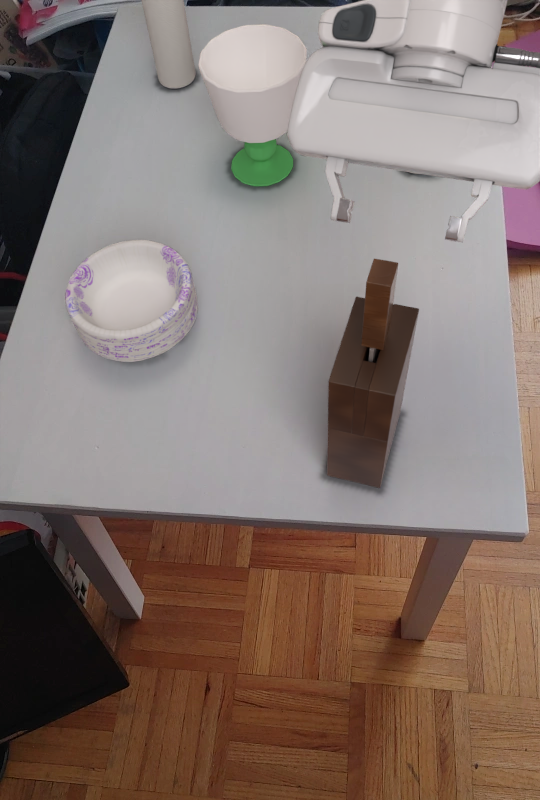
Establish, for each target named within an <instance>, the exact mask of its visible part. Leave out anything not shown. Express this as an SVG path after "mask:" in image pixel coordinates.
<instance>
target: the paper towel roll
mask: <svg viewBox="0 0 540 800" xmlns="http://www.w3.org/2000/svg"><path fill="white" fill-rule="evenodd" d="M140 1H141V5H142V9H143V15H144V19H145V23H146V29H147V34H148V38H149V42H150V47H151V51H152V56H153V61H154V65H155V70H156V74H157V79H158V82H159V83H160V84H161V85H162V86H163V87H164V88H168V89H181V88H184V87H186V86H189V85H191V84H192V82H194V80H195V78H196V74H197V72H196V67H195V61H194V55H193V48H192V43H191V37H190V30H189V24H188V18H187V12H186V7H185V0H140Z"/></svg>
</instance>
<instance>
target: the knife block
mask: <svg viewBox="0 0 540 800" xmlns="http://www.w3.org/2000/svg"><path fill="white" fill-rule="evenodd" d="M364 305H365V297H360V296H355V298H354V301H353V304H352V308H351V310H350V313H349V316H348V317H349V318H348V320H347V323H346V325H345V329H344V331H343V334H342V338H341V341H340V344H339V347H338V350H337V353H336V356H335V360H334V363H333V365H332V368H331V372H330V375H329V378H328V380H327V445H326V446H327V456H326V457H327V458H326V475H327V476H328V477H332V478H336V479H340V480H344V481H349V482H352V483H358V484H361V485H366V486H368V487H373V488H378V489H381V487H382V485H383V479H384V475H385V472H386V468H387V464H388V461H389V457H390V453H391V449H392V445H393V442H394V438H395V434H396V430H397V427H398V423H399V419H400V416H401V411H402V406H403V400H404V396H405V390H406V383H407V379H408V378H407V377H408V373H409V367H410V362H411V357H412V356H411V355H412V351H413V345H414V339H415V335H416V329H417V324H418V317H419V313H420V308H419V307H413V306H408V305H403V304H397V303H393V308H392V316H391V323H390V329H389V333H388V336H387V340H386V343H385V346H384V350H380V349H379V352H378V359H377V362H376V363H373V362H368V360H369V350H370V347H365V346H361V343H362V330H363V317H364Z"/></svg>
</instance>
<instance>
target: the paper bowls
mask: <svg viewBox="0 0 540 800" xmlns="http://www.w3.org/2000/svg"><path fill="white" fill-rule="evenodd" d="M64 294H65V295H64V296H65V297H64V303H65V308H66V312H67V315H68V316H69V318H70V319H71V322H72V324H73V326H74V328H75V329H76V331H77V334H78V336H79V337H80V339H81V340H82V343H84V345H85V346H86V347H87V348H88V349H89V350H90V351H92V353H94V354H95V355H98V356H100V357H103V358H104V359H107V360H112V361H116V362H120V363H121V362H123V363H134V362H140V361H145V360H149V359H152V358H155V357H157V356H160V355H162V354H164V353H166V352H168V351H170V350H171V349H172V348H174V347H175V346H176V345H177V344H178V343H180V342H181V341H182V340H183V339H185V337H186V336H187V335H188V334H189V332H190V331H191V329H192V328H193V326H194V324H195V322H196V318H197V315H198V309H199V302H198V295H197V291H196V286H195V283H194V278H193V274H192V271H191V267H190V266H189V264H188V263H187V261H186V260H185V258H184V257H183V256H182V255H181V254H180V253H179V252H178V251H176V250H175V249H174V248H172V247H170V246H169V245H166V244H164V243H162V242H158V241H154V240H148V239H129V240H123V241H119V242H115V243H112V244H109V245H106V246H104V247H103V248H102V247H101V248H100V249H99V250H97V251H95V252H93V253H91V254H90V255H89V256H88V257H86V258H85V259H84V260H82V262H80V264H78V266H77V267H76V268H75V270H74V271H73V273H72V274H71V275H70V278H69V280H68V282H67V284H66V289H65V293H64Z"/></svg>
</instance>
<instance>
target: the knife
mask: <svg viewBox="0 0 540 800" xmlns="http://www.w3.org/2000/svg"><path fill="white" fill-rule="evenodd" d="M398 269H399V262H396V261H391V260H386V259H380V258H373V259H372V263H371V266H370V268H369V272H368V275H367V279H366V282H365V292H364V293H365V294H364V298H365V305H364V317H363V330H362V343H361V346H365V347H370V350H369V360H368V362H373V363H376V362H377V359H378V352H379V349H380V350H384V346H385V343H386V340H387V336H388V333H389V329H390V323H391V316H392V308H393V305H394V299H395V292H396V284H397V278H398V277H397V276H398Z"/></svg>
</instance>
